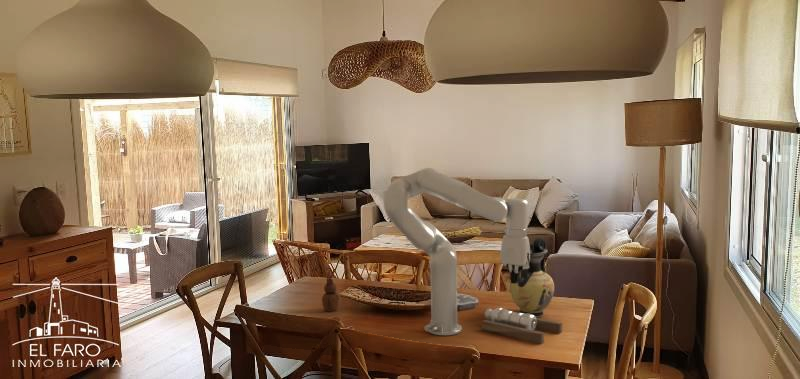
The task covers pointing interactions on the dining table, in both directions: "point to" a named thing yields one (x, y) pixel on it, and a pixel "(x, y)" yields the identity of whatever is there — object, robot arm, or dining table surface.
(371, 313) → the dining table surface
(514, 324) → the plastic bottle
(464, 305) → the brain slice
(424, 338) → the dining table surface
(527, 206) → the robot arm
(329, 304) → the wooden figurine
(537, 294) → the amphora
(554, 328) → the u rest
